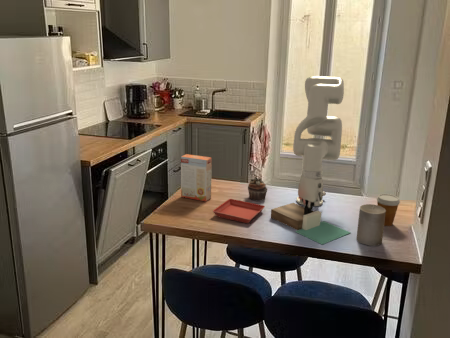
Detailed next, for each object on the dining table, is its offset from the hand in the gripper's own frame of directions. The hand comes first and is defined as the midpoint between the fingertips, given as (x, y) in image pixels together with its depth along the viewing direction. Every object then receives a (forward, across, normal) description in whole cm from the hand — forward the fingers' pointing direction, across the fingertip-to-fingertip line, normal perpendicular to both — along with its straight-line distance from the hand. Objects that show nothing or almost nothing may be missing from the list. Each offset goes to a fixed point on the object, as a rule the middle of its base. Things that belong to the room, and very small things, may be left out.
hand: (307, 215), depth 182 cm
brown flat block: (+5, +7, 0) cm, 8 cm away
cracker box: (+5, +54, +20) cm, 58 cm away
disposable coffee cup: (+5, -18, -30) cm, 35 cm away
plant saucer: (+5, +26, +16) cm, 31 cm away
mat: (+5, -9, 0) cm, 10 cm away
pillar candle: (+5, -24, -9) cm, 26 cm away
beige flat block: (+1, -2, 0) cm, 2 cm away
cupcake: (+5, +37, -5) cm, 38 cm away
